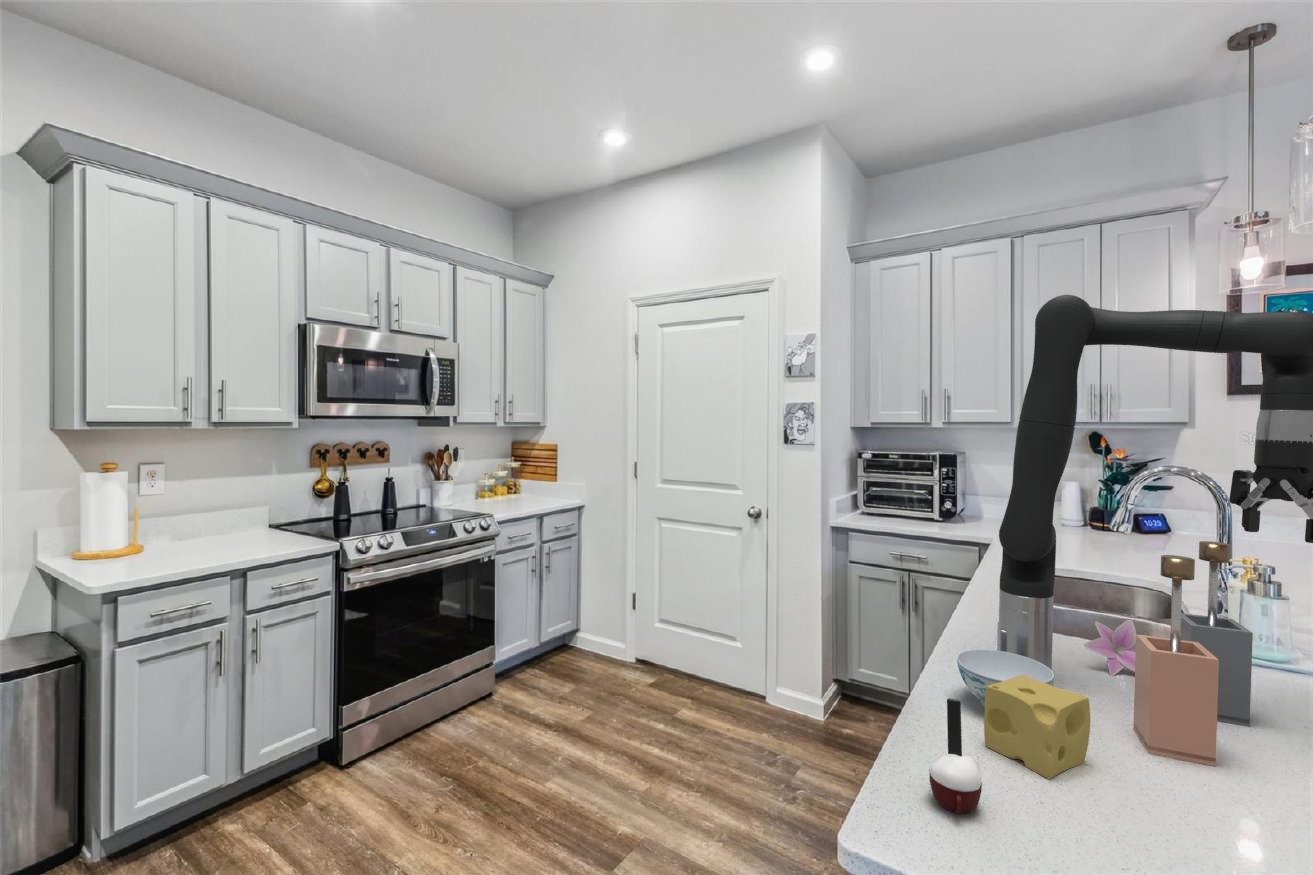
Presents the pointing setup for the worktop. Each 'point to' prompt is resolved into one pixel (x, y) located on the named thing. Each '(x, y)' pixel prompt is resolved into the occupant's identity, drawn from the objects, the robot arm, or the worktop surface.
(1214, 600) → the tall bronze-capped rod
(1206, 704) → the press terracotta
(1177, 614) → the bronze knob plunger
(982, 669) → the chinaware
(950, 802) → the rounded three-tone fixture
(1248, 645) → the grey square holder
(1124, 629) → the lily
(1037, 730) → the cheese
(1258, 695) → the worktop surface
